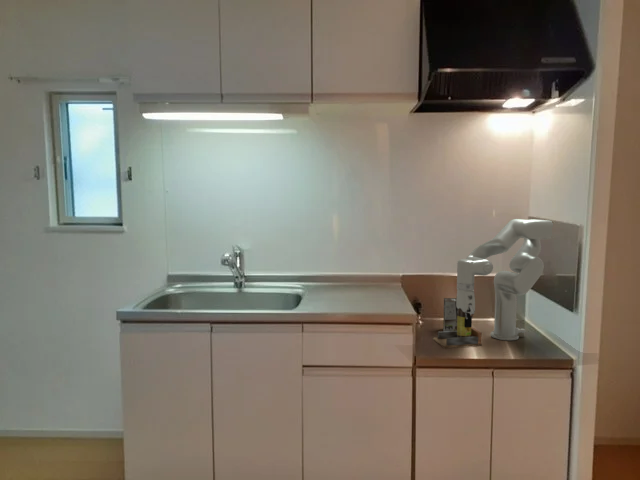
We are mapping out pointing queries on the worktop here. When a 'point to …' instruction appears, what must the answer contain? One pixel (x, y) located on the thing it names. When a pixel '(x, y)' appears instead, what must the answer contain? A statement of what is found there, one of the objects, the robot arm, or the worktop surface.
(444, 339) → the channel
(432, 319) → the worktop surface
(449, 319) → the coffee box
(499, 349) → the worktop surface
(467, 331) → the sauce bottle
